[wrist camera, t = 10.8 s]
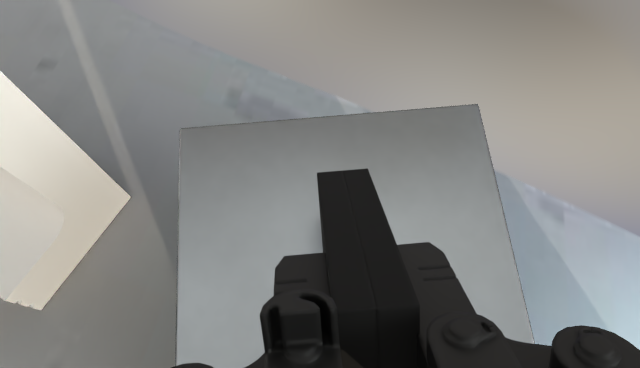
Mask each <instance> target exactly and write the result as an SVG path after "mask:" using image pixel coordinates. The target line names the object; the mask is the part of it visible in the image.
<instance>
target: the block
mask: <svg viewBox="0 0 640 368" xmlns="http://www.w3.org/2000/svg"><path fill="white" fill-rule="evenodd" d="M130 198H131V197H130V196H129V195H128V194H127V193H126V192H125V191H124V190H123V189H122V188H121V187H120V186H119V185H118V184H117V183H116V182H115V181H114V180H113V179H112V178H111V177H110V176H109V175H108V174H107V173H106V172H105V171H103V170H102V169H101V168H100V167H99V166H98V165H97V164H96V163H95V162H94V161H93V160H92V159H91V158H90V157H89V156H88V155H87V154H86V153H85V152H84V151H83V150H82V149H81V148H80V147H79V146H78V145H76V144H75V143H74V142H73V141H72V140H71V139H70V138H69V137H68V136H67V135H66V134H65V133H64V132H63V131H62V130H61V129H60V128H59V127H58V126H57V125H56V124H55V123H54V122H53V121H52V120H51V119H50V118H48V117H47V116H46V115H45V114H44V113H43V112H42V111H41V110H40V109H39V108H38V107H37V106H36V105H35V104H34V103H33V102H32V101H31V100H30V99H29V98H28V97H27V96H26V95H25V94H24V93H23V92H22V91H20V90H19V89H18V88H17V87H16V86H15V85H14V84H13V83H12V82H11V81H10V80H9V79H8V78H7V77H6V76H5V75H4V74H3V73H2V72H1V71H0V298H2V299H3V300H4V301H7V302H11V303H16V302H17V303H18V304H20V305H23V306H26V307H28V306H31V307H32V308H34V309H38V310H42V309H43V307H44V306H45V305H46V304H47V302H48V301H49V300H50V299H51V297H52V296H53V295H54V294H55V292H56V291H57V290H58V289H59V287H60V286H61V285H62V283H63V282H64V281H65V280H66V278H67V277H68V276H69V275H70V273H71V272H72V271H73V270H74V268H75V267H76V266H77V265H78V263H79V262H80V261H81V260H82V258H83V257H84V256H85V255H86V253H87V252H88V251H89V250H90V248H91V247H92V246H93V245H94V243H95V242H96V241H97V239H98V238H99V237H100V236H101V234H102V233H103V232H104V231H105V229H106V228H107V227H108V226H109V224H110V223H111V222H112V221H113V219H114V218H115V217H116V216H117V214H118V213H119V212H120V211H121V209H122V208H123V207H124V206H125V204H126V203H127V202H128V201H129V199H130Z"/></svg>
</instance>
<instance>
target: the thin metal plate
mask: <svg viewBox="0 0 640 368" xmlns="http://www.w3.org/2000/svg"><path fill="white" fill-rule="evenodd" d="M366 168H368V170H369V173H370V176H371V178H372V181H373V183H374V186H375V189H376V191H377V194H378V197H379V199H380V202H381V204H382V207H383V210H384V212H385V215H386V217H387V220H388V223H389V225H390V228H391V231H392V233H393V236H394V238H395V241H396V244H397V245H400V244H411V243H423V242H430V243H431V244H433V245H434V246H436V247H437V248H438V249H440V250H441V251H443V252H444V254H445V256H446V258H447V259H448V261H449V263H450V266H451V267H452V269H453V271H454V272H455V274H456V278H458V280H459V282H460V284H461V285H462V287H463V289H464V291H465V293H466V295H467V297H468V299H469V300H470V302H471V304H472V306H473V308H474V310H475V312H476V313H477V314H478V315H482V316H483V317H485V318H487V319H489V320H490V321H492V322H494V323H495V324H496V326H497V327H498V328H499V329H500V330H501V331H502V333H503V335H504V336H505V337H506V338H508V339H511V340H515V341H520V342H525V343H532V344H535V342H534V338H533V334H532V329H531V325H530V321H529V317H528V313H527V308H526V304H525V300H524V296H523V291H522V287H521V283H520V279H519V275H518V270H517V266H516V262H515V258H514V253H513V249H512V245H511V241H510V237H509V232H508V228H507V224H506V220H505V215H504V211H503V207H502V203H501V199H500V194H499V190H498V186H497V182H496V177H495V173H494V169H493V165H492V161H491V157H490V152H489V148H488V144H487V140H486V135H485V131H484V127H483V123H482V119H481V114H480V110H479V106H478V104H472V105H460V106H450V107H436V108H425V109H411V110H401V111H387V112H375V113H363V114H351V115H338V116H326V117H314V118H302V119H290V120H278V121H265V122H253V123H241V124H229V125H217V126H205V127H192V128H181V129H180V144H179V195H178V246H177V297H176V348H175V366H178V365H181V364H184V363H202V364H206V365H210V366H212V367H213V368H244V367H247V366H249V365H250V364H252V363H253V362H255V361H256V360H258V359H259V358H260V357H261V356H262V355H263V354H264V353H265V350H264V343H263V336H262V329H261V322H260V312H261V310H262V307H263V305H264V304H265V303H266V302H267V301H268V300H269V299H270V298H272V297H273V296H274V277H275V268H276V266H277V265H278V264H279V262H280V261H281V260H282V258H283V257H284V256H289V255H301V254H312V253H323V246H322V233H321V221H320V208H319V195H318V183H317V173H318V172H330V171H343V170H355V169H366Z"/></svg>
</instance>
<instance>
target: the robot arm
mask: <svg viewBox="0 0 640 368" xmlns="http://www.w3.org/2000/svg"><path fill="white" fill-rule="evenodd" d="M317 183H318V195H319V208H320V221H321V233H322V246H323V253H312V254H301V255H289V256H284V257H283V258H282V260H281V261H280V262H279V264H278V265H277V266H276V268H275V277H274V296H273V297H272V298H270V299H269V300H268V301H267V302H266V303H265V304H264V305H263V307H262V310H261V312H260V322H261V329H262V336H263V343H264V350H265V353H264V354H263V355H262V356H261V357H260V358H259V359H258V360H256V361H255V362H253V363H252V364H250V365H249V366H247V367H244V368H640V350H639V349H637V348H636V347H635V346H634V345H632V344H631V343H630V342H628V341H627V340H625V339H623V338H621V337H620V336H618V335H616V334H615V333H612V332H609V331H606V330H603V329H600V328H597V327H589V326H574V327H567V328H565V329H563V330H561V331H559V332H557V334H556V336H555V337H554V339H553V341H552V346H547V345H539V344H532V343H525V342H520V341H515V340H511V339H508V338H506V337H505V336H504V335H503V333H502V331H501V330H500V329H499V328H498V327H497V326H496V324H495V323H494V322H492V321H490V320H489V319H487V318H485V317H483V316H482V315H478V314H477V313H476V312H475V310H474V308H473V306H472V304H471V302H470V300H469V299H468V297H467V295H466V293H465V291H464V289H463V287H462V285H461V284H460V282H459V280H458V278H456V274H455V272H454V271H453V269H452V267H451V266H450V263H449V261H448V259H447V258H446V256H445V254H444V252H443V251H441V250H440V249H438V248H437V247H436V246H434V245H433V244H431V243H430V242H423V243H411V244H400V245H397V244H396V241H395V238H394V236H393V233H392V231H391V228H390V225H389V223H388V220H387V217H386V215H385V212H384V210H383V207H382V204H381V202H380V199H379V197H378V194H377V191H376V189H375V186H374V183H373V181H372V178H371V176H370V173H369V170H368V168H366V169H355V170H343V171H330V172H318V173H317ZM172 368H213V367H212V366H210V365H206V364H202V363H184V364H181V365H178V366H175V367H172Z"/></svg>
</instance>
